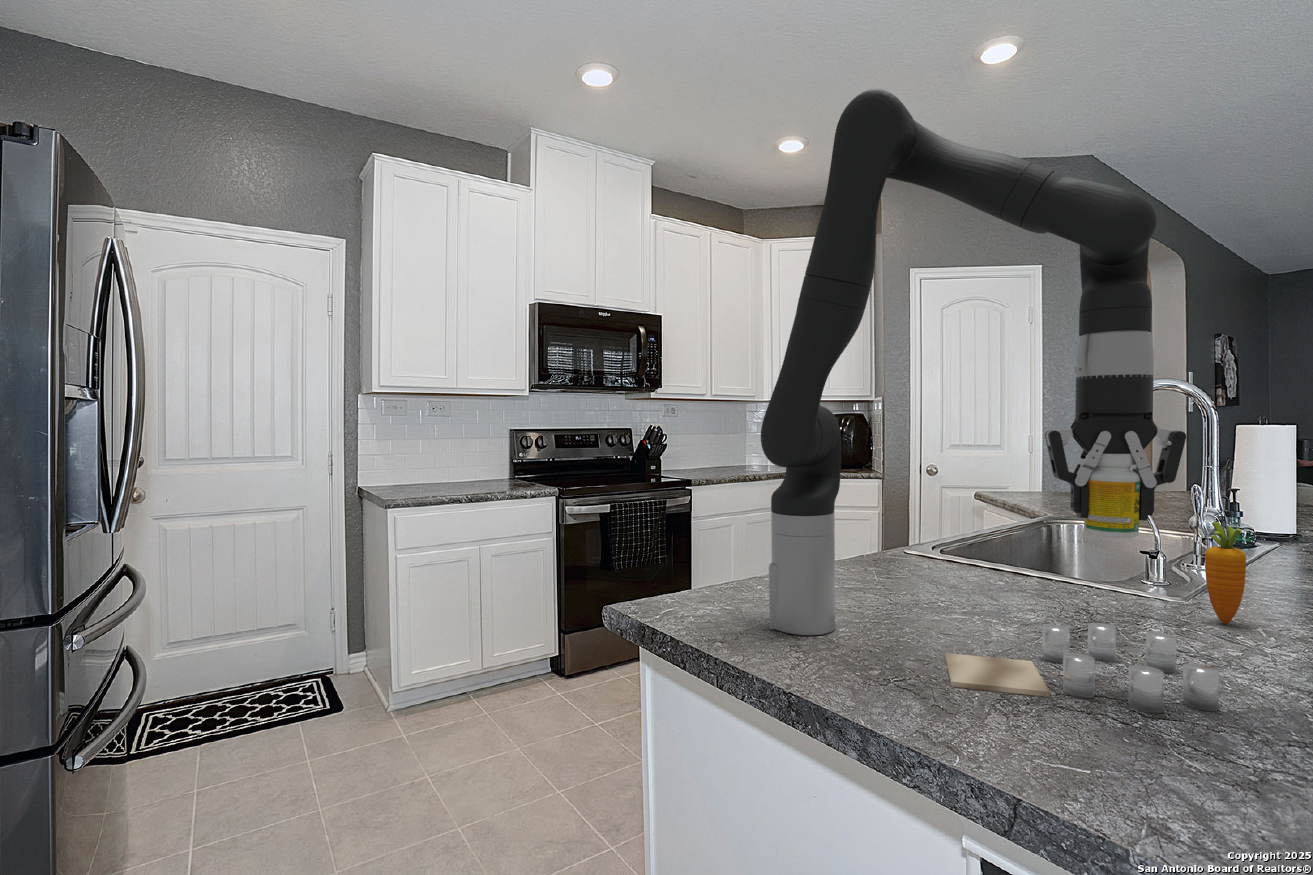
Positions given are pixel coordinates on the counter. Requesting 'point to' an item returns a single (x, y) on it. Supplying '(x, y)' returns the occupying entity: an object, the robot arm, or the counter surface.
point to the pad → (995, 674)
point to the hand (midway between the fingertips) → (1111, 517)
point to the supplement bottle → (1113, 498)
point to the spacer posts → (1130, 668)
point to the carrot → (1225, 573)
